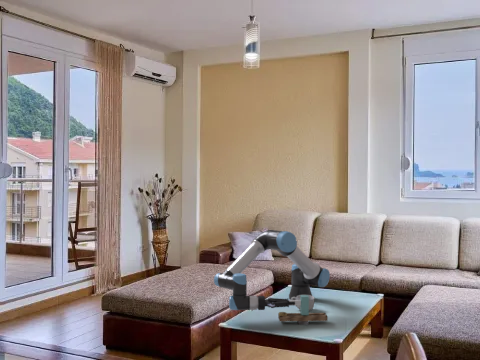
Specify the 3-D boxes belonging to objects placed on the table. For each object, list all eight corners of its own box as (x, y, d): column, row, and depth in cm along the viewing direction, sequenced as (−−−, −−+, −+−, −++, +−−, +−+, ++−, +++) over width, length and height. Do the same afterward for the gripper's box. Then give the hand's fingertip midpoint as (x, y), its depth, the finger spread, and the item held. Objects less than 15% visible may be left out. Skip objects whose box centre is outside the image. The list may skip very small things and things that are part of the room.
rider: (301, 317, 286) (301, 296, 285) (300, 315, 290) (300, 295, 289) (308, 317, 286) (308, 296, 285) (307, 315, 290) (307, 295, 289)
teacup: (315, 308, 317) (316, 295, 317) (312, 313, 307) (312, 299, 307) (293, 306, 322) (293, 293, 322) (289, 311, 312) (289, 297, 311)
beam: (279, 324, 284) (279, 314, 284) (277, 321, 291) (277, 311, 291) (327, 324, 285) (327, 314, 285) (324, 320, 292) (325, 310, 292)
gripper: (256, 306, 292) (298, 306, 293) (258, 313, 279) (302, 312, 280) (256, 293, 292) (298, 292, 293) (258, 298, 279) (302, 298, 280)
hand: (300, 302), depth 287 cm, fingers closed
